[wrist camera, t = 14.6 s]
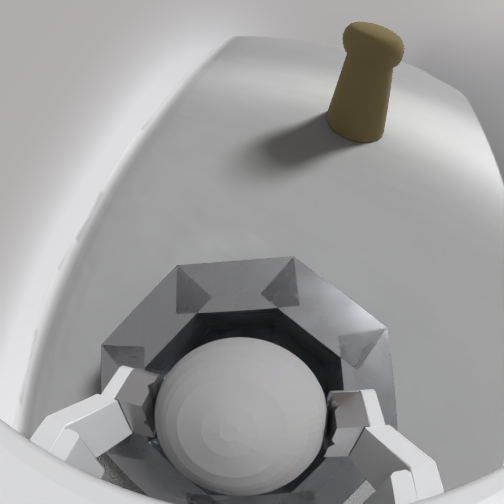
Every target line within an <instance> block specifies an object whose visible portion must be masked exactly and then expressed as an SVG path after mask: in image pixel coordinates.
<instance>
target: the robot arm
mask: <svg viewBox="0 0 504 504" xmlns="http://www.w3.org/2000/svg"><path fill="white" fill-rule="evenodd" d="M163 381H164V379H163V376H162V375H160V374H156V373H152V372H148V371H144V370H140V369H136V368H131V367H128V366H124V365H123V366H121V367H119V369H118V370H117V372H116V373H115V374H114V376H113V377H112V379H111V380H110V382H109V383H108V385H107V386H106V388H105V389H104V391H103V392H102V393H101V395H100V394H96V395H93V396H91V397H89V398H87V399H85V400H83V401H80V402H78V403H76V404H74V405H71V406H69V407H67V408H65V409H62V410H60V411H58V412H55V413H53V414H51V415H48V416H47V417H46V418H45V419H44V421H43V422H42V423H41V425H40V426H39V427H38V429H37V430H36V432H35V433H34V434H33V436H32V437H31V439H30V440H29V439H27V438H26V437H24V436H23V435H21V434H20V433H19V432H17V431H16V430H14V429H13V428H12V427H10V426H9V425H8V424H6V423H5V422H4V421H2V420H1V419H0V504H174V503H170V502H166V501H162V500H159V499H155V498H152V497H149V496H146V495H143V494H140V493H137V492H134V491H131V490H128V489H125V488H123V487H120V486H117V485H115V484H112V483H110V482H107V481H105V480H103V479H101V478H102V476H103V474H104V472H105V469H104V467H103V466H102V465H101V463H100V462H99V461H98V460H97V457H98V456H100V455H101V454H103V453H104V452H106V451H107V450H109V449H110V448H112V447H113V446H115V445H116V444H118V443H119V442H120V441H122V440H123V439H125V438H126V437H128V436H129V435H130V434H132V432H134V433H138V434H141V435H145V436H149V437H153V438H154V437H155V434H156V427H155V405H156V399H157V396H158V393H159V390H160V387H161V385H162V383H163ZM327 402H328V404H327V412H328V423H327V430H326V435H325V439H324V442H323V452H324V457H343V456H349V457H348V458H349V459H350V460H351V461H352V463H353V464H354V465H355V466H356V467H357V469H358V470H359V471H360V472H361V473H362V475H363V476H364V477H365V478H366V479H367V481H368V482H369V483H370V484H371V485H372V486H373V488H374V489H375V490H376V491H375V492H374V493H373V494H372V495H371V496H370V497H369V498H368V499H367V500H366V501H365V502H364V503H363V504H504V466H503V467H501V468H499V469H497V470H495V471H493V472H491V473H489V474H487V475H485V476H483V477H481V478H479V479H477V480H474V481H472V482H470V483H467V484H465V485H463V486H460V487H458V488H455V489H452V490H450V491H447V492H444V490H443V486H442V483H441V479H440V476H439V472H438V469H437V466H436V463H435V461H434V460H432V459H431V458H430V457H429V456H427V455H426V454H425V453H424V452H422V451H421V450H420V449H419V448H417V447H416V446H415V445H414V444H412V443H411V442H410V441H409V440H407V439H406V438H405V437H404V436H402V435H401V434H400V433H399V432H398V431H396V430H395V429H394V428H393V427H392V426H390V425H385V422H384V418H383V415H382V411H381V408H380V405H379V401H378V398H377V395H376V392H375V390H374V389H366V390H341V391H330V392H329V394H328V397H327Z"/></svg>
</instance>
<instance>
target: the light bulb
mask: <svg viewBox="0 0 504 504" xmlns="http://www.w3.org/2000/svg"><path fill="white" fill-rule="evenodd" d="M327 423H328V412H327V404H326V400H325V396H324V393H323V390H322V388H321V386H320V384H319V382H318V380H317V378H316V377H315V375H314V374H313V372H312V371H311V370H310V369H309V368H308V366H307V365H306V364H305V363H304V362H303V361H302V360H300V359H299V358H298V357H297V356H295V355H294V354H292V353H291V352H289V351H288V350H286V349H284V348H282V347H281V346H278V345H276V344H274V343H271V342H268V341H264V340H260V339H255V338H245V337H234V338H225V339H220V340H215V341H212V342H209V343H206V344H204V345H202V346H200V347H198V348H196V349H194V350H192V351H191V352H189V353H188V354H187V355H185V356H184V357H183V358H182V359H180V360H179V362H178V363H177V364H176V365H175V366H174V367H173V368H172V369H171V371H170V372H169V373H168V375H167V377H166V378H165V380H164V381H163V383H162V385H161V387H160V390H159V393H158V396H157V399H156V405H155V427H156V432H157V436H158V439H159V442H160V445H161V447H162V449H163V451H164V453H165V454H166V456H167V457H168V459H169V460H170V462H171V463H172V464H173V465H174V466H175V467H176V469H177V470H178V471H180V472H181V473H182V474H183V475H184V476H185V477H187V478H188V479H189V480H191V481H192V482H194V483H196V484H197V485H199V486H201V487H203V488H206V489H208V490H211V491H214V492H217V493H221V494H226V495H234V496H250V495H258V494H263V493H267V492H270V491H273V490H276V489H278V488H280V487H282V486H284V485H286V484H288V483H289V482H291V481H293V480H294V479H295V478H296V477H298V476H299V475H300V474H301V473H302V472H303V471H304V470H305V469H306V468H307V467H308V466H309V465H310V464H311V463H312V462H313V460H314V459H315V457H316V456H317V454H318V452H319V451H320V449H321V447H322V444H323V442H324V439H325V435H326V430H327Z"/></svg>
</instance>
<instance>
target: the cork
mask: <svg viewBox="0 0 504 504" xmlns="http://www.w3.org/2000/svg"><path fill="white" fill-rule="evenodd" d="M343 44H344V49H345V51H346V52H347V56H346V59H345V62H344V65H343V68H342V71H341V74H340V77H339V80H338V83H337V86H336V89H335V92H334V95H333V98H332V100H331V103H330V106H329V109H328V112H327V117H326V120H327V122H328V125H329V126H330V127H331V128H332V129H333V130H334V132H336V133H337V134H339V135H341V136H342V137H344V138H347V139H349V140H352V141H356V142H361V143H371V142H375V141H378V140H379V139H380V138H381V137H382V135H383V132H384V127H385V121H386V115H387V109H388V102H389V96H390V88H391V81H392V73H393V68H394V67H395V66H397V65H398V64H399V63H400V61H401V60H402V57H403V54H404V45H403V42H402V40H401V38H400V37H399V36H398V35H397V34H396V33H394V32H393V31H391V30H389V29H387V28H385V27H382V26H379V25H376V24H373V23H367V22H354V23H351V24H350V25H349V26H348V27H347V28H346V29H345V31H344V33H343Z"/></svg>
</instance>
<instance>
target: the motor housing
mask: <svg viewBox="0 0 504 504" xmlns="http://www.w3.org/2000/svg"><path fill="white" fill-rule="evenodd" d="M234 337H245V338H255V339H260V340H264V341H268V342H271V343H274V344H276V345H278V346H281V347H282V348H284V349H286V350H288V351H289V352H291V353H292V354H294V355H295V356H297V357H298V358H299V359H300V360H302V361H303V362H304V363H305V364H306V365H307V366H308V368H309V369H310V370H311V371H312V372H313V374H314V375H315V377H316V378H317V380H318V382H319V384H320V386H321V388H322V390H323V393H324V396H325V400H326V404H328V402H327V397H328V394H329V392H330V391H341V390H366V389H374V390H375V392H376V395H377V398H378V401H379V405H380V408H381V411H382V415H383V418H384V422H385V425H390V426H392V427H393V428H394V429H395V430H396V431H397V415H396V400H395V388H394V378H393V369H392V361H391V353H390V346H389V339H388V332H387V327H385V326H384V325H383V324H382V323H380V322H379V321H378V320H376V319H375V318H374V317H373V316H371V315H370V314H369V313H367V312H366V311H365V310H364V309H362V308H361V307H360V306H358V305H357V304H356V303H354V302H353V301H352V300H351V299H349V298H348V297H347V296H345V295H344V294H343V293H341V292H340V291H339V290H338V289H336V288H335V287H334V286H332V285H331V284H330V283H328V282H327V281H326V280H324V279H323V278H322V277H320V276H319V275H318V274H316V273H315V272H314V271H312V270H311V269H310V268H308V267H307V266H306V265H304V264H303V263H302V262H300V261H299V260H298V259H296V258H295V257H294V256H292V257H280V258H267V259H255V260H242V261H229V262H216V263H202V264H189V265H177V266H176V267H175V268H174V269H173V270H172V271H171V272H170V273H169V274H168V275H167V276H166V277H165V278H164V279H163V280H162V281H161V282H160V283H159V284H158V285H157V286H156V287H155V289H154V290H153V291H152V292H151V293H150V294H149V295H148V296H147V297H146V298H145V299H144V300H143V301H142V302H141V303H140V304H139V305H138V306H137V307H136V308H135V309H134V310H133V311H132V313H131V314H130V315H129V316H128V317H127V318H126V319H125V320H124V321H123V322H122V323H121V324H120V325H119V326H118V327H117V329H116V330H115V331H114V332H113V333H112V334H111V335H110V336H109V337H108V338H107V339H106V341H105V342H104V343H103V344H102V347H101V393H102V392H103V391H104V389H105V388H106V386H107V385H108V383H109V382H110V380H111V379H112V377H113V376H114V374H115V373H116V372H117V370H118V369H119V367H121V366H123V365H124V366H128V367H131V368H136V369H140V370H144V371H148V372H152V373H156V374H160V375H162V376H163V379H164V380H165V378H166V377H167V375H168V373H169V372H170V371H171V369H172V368H173V367H174V366H175V365H176V364H177V363H178V362H179V360H180V359H182V358H183V357H184V356H185V355H187V354H188V353H189V352H191V351H192V350H194V349H196V348H198V347H200V346H202V345H204V344H206V343H209V342H212V341H215V340H220V339H225V338H234ZM106 454H107V455H108V456H109V457H110V458H111V459H112V461H113V462H114V463H115V464H116V465H117V466H118V467H119V468H120V469H121V470H122V471H123V472H124V473H125V474H126V475H127V476H128V477H129V478H130V479H131V480H132V481H133V482H134V483H135V484H136V485H137V486H138V487H139V488H140V489H141V490H142V491H143V492H144V493H145V494H146V495H148V496H149V497H152V498H155V499H159V500H162V501H166V502H170V503H174V504H343V503H344V502H345V501H346V500H347V499H348V498H349V497H350V496H351V495H352V494H353V493H354V492H355V491H356V490H357V489H358V488H359V487H360V486H361V484H362V483H363V482H364V481H365V480H366V478H365V477H364V476H363V475H362V473H361V472H360V471H359V470H358V469H357V467H356V466H355V465H354V464H353V463H352V461H351V460H350V459H349V458H348V457H349V456H343V457H324V452H323V444H322V447H321V449H320V451H319V452H318V454H317V456H316V457H315V459H314V460H313V462H312V463H311V464H310V465H309V466H308V467H307V468H306V469H305V470H304V471H303V472H302V473H301V474H300V475H299V476H298V477H296V478H295V479H294V480H293V481H291V482H289V483H288V484H286V485H284V486H282V487H280V488H278V489H276V490H273V491H270V492H267V493H263V494H258V495H250V496H234V495H226V494H221V493H217V492H214V491H211V490H208V489H206V488H203V487H201V486H199V485H197V484H196V483H194V482H192V481H191V480H189V479H188V478H187V477H185V476H184V475H183V474H182V473H181V472H180V471H178V470H177V469H176V467H175V466H174V465H173V464H172V463H171V462H170V460H169V459H168V457H167V456H166V454H165V453H164V451H163V449H162V447H161V445H160V442H159V439H158V436H157V432H156V434H155V437H154V438H153V437H149V436H145V435H141V434H138V433H134V432H132V434H130V435H129V436H128V437H126V438H125V439H123V440H122V441H120V442H119V443H118V444H116V445H115V446H113V447H112V448H110V449H109V450H107V451H106Z"/></svg>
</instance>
